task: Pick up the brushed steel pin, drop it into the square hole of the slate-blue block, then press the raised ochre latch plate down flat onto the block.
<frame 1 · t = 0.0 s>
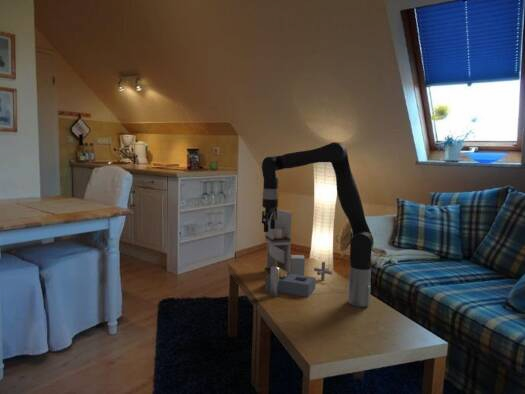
hand: (269, 230, 197), 29 cm above the table, tool pointing down, fingers open, 8 cm apart
display case: (276, 274, 223), on the table
pipe connector: (322, 280, 214), on the table
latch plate: (280, 272, 200), point 8 cm above the table, hinge at 21.0°, touching pin block
pin block: (290, 289, 199), on the table
steel pin: (274, 295, 189), on the table
supplement box: (296, 279, 214), on the table
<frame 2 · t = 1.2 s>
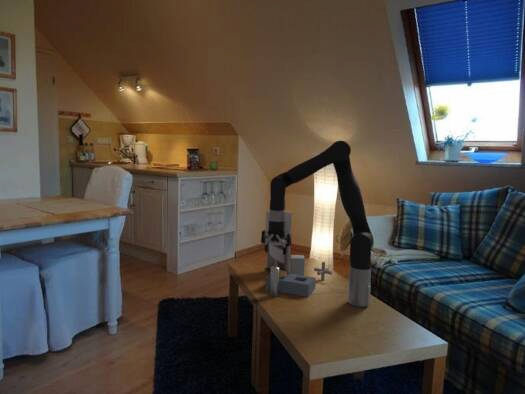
hand: (275, 253, 187), 21 cm above the table, tool pointing down, fingers open, 8 cm apart
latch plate: (279, 273, 200), point 7 cm above the table, hinge at 12.4°, touching pin block
everything else where it was.
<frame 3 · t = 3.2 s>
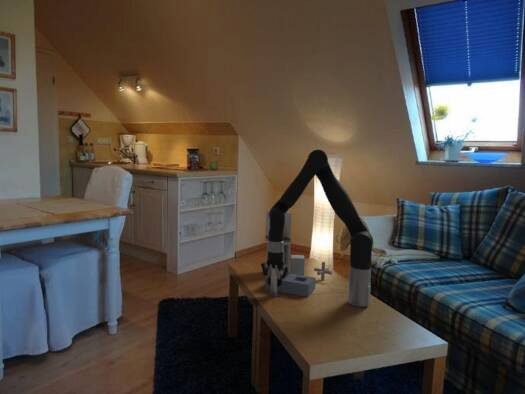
hand: (274, 285, 189), 5 cm above the table, tool pointing down, fingers closed on steel pin, 4 cm apart
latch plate: (279, 273, 200), point 7 cm above the table, hinge at 12.0°, touching pin block
steel pin: (274, 295, 189), on the table, touching gripper
everything else where it was.
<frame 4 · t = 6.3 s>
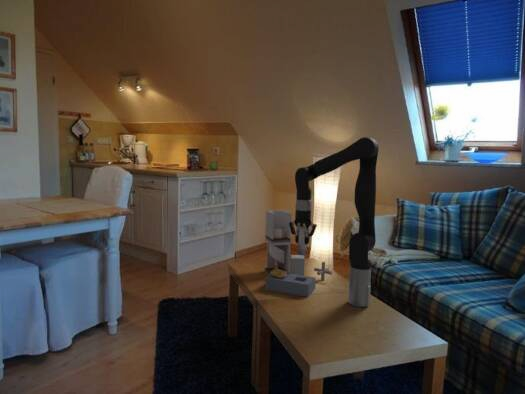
hand: (302, 243, 194), 24 cm above the table, tool pointing down, fingers closed on steel pin, 4 cm apart
steel pin: (301, 254, 195), point 19 cm above the table, touching gripper
everything else where it was.
when the fingers open (7 cm above the table, at t = 9.8 s): steel pin drops 1 cm, resting in pin block.
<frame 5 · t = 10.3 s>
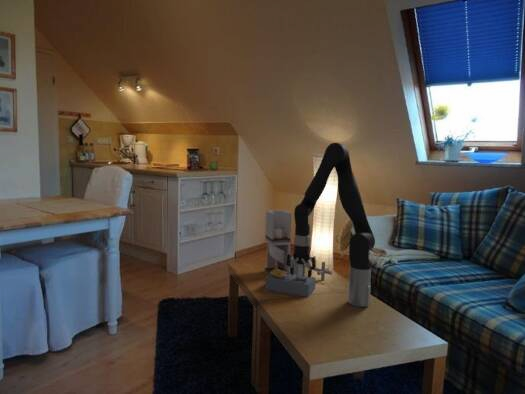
hand: (300, 276, 196), 8 cm above the table, tool pointing down, fingers open, 8 cm apart
steel pin: (300, 290, 197), resting in pin block
everything else where it was.
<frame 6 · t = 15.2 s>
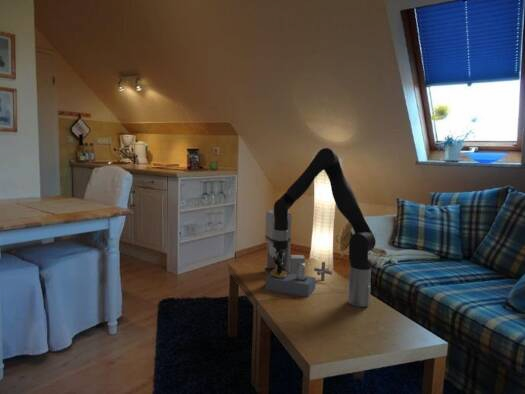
hand: (279, 272, 200), 8 cm above the table, tool pointing down, fingers closed
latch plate: (279, 273, 200), point 7 cm above the table, hinge at 12.0°, touching gripper, pin block
everything else where it was.
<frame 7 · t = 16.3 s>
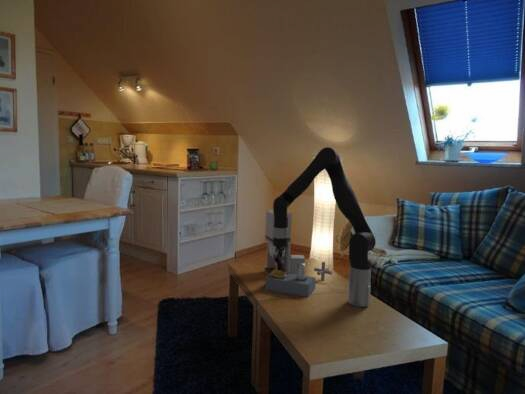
hand: (279, 270, 200), 9 cm above the table, tool pointing down, fingers closed
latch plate: (279, 273, 200), point 7 cm above the table, hinge at 6.9°, touching pin block
everything else where it was.
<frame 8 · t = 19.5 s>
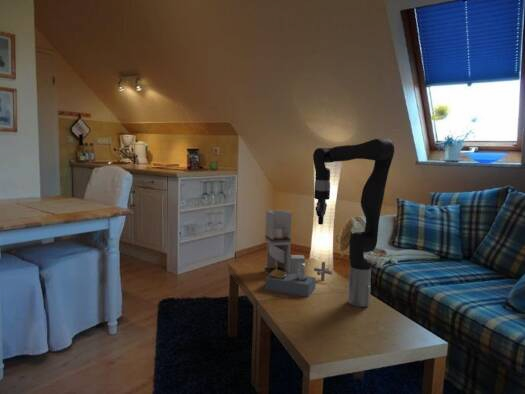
hand: (320, 224, 197), 33 cm above the table, tool pointing down, fingers closed
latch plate: (279, 273, 200), point 7 cm above the table, hinge at 6.3°, touching pin block
everything else where it was.
at the end: steel pin 0.1 cm from the target spot on the pin block, point 0.0 cm above the pin block's base; steel pin tilted 0°; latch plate at +6° (first picture: +21°) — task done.
